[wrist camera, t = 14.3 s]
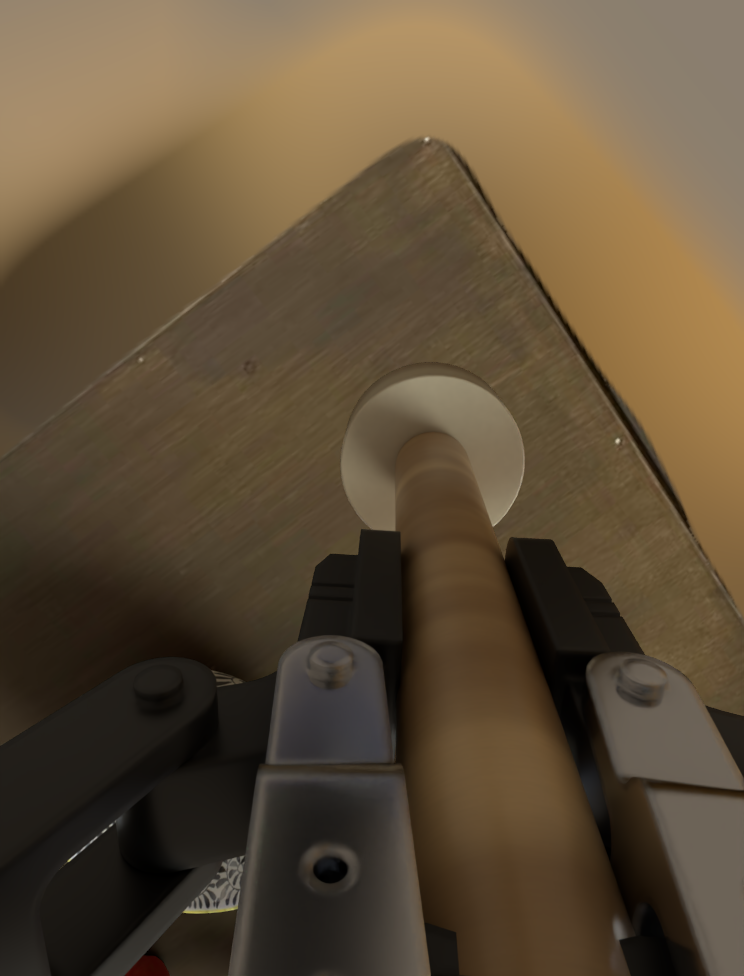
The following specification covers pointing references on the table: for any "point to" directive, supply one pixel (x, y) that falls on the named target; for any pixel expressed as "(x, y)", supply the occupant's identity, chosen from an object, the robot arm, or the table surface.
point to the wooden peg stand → (478, 690)
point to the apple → (148, 967)
